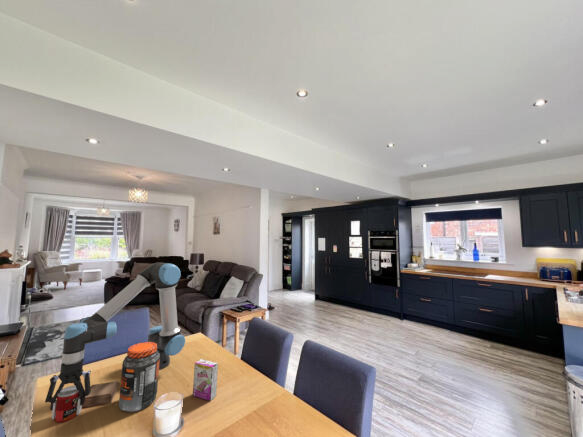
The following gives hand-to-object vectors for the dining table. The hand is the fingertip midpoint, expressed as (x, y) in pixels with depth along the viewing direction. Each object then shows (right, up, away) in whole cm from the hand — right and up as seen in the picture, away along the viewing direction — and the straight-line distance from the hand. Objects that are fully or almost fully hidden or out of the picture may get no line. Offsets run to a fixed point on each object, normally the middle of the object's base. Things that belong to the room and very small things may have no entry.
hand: (66, 414), depth 108 cm
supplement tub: (+25, -3, +11) cm, 27 cm away
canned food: (0, -1, 0) cm, 1 cm away
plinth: (+4, -2, +13) cm, 14 cm away
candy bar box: (+54, -4, +17) cm, 57 cm away
